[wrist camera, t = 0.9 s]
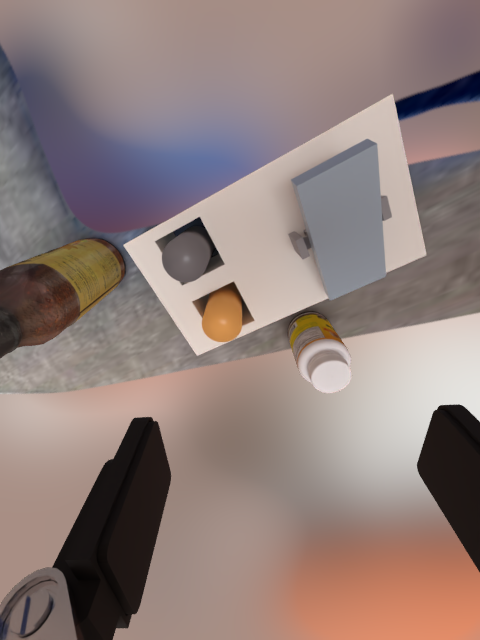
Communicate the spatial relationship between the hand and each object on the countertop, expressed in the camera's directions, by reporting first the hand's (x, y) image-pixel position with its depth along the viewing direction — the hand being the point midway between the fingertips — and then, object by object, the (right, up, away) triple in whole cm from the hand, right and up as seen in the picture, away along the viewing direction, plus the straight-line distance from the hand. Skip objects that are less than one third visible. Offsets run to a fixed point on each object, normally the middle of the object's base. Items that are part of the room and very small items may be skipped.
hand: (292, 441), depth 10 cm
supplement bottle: (+7, +3, +27) cm, 28 cm away
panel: (+1, +13, +21) cm, 25 cm away
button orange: (-3, +7, +22) cm, 23 cm away
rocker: (+6, +11, +12) cm, 18 cm away
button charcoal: (-6, +12, +19) cm, 24 cm away
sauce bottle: (-18, +11, +23) cm, 31 cm away
